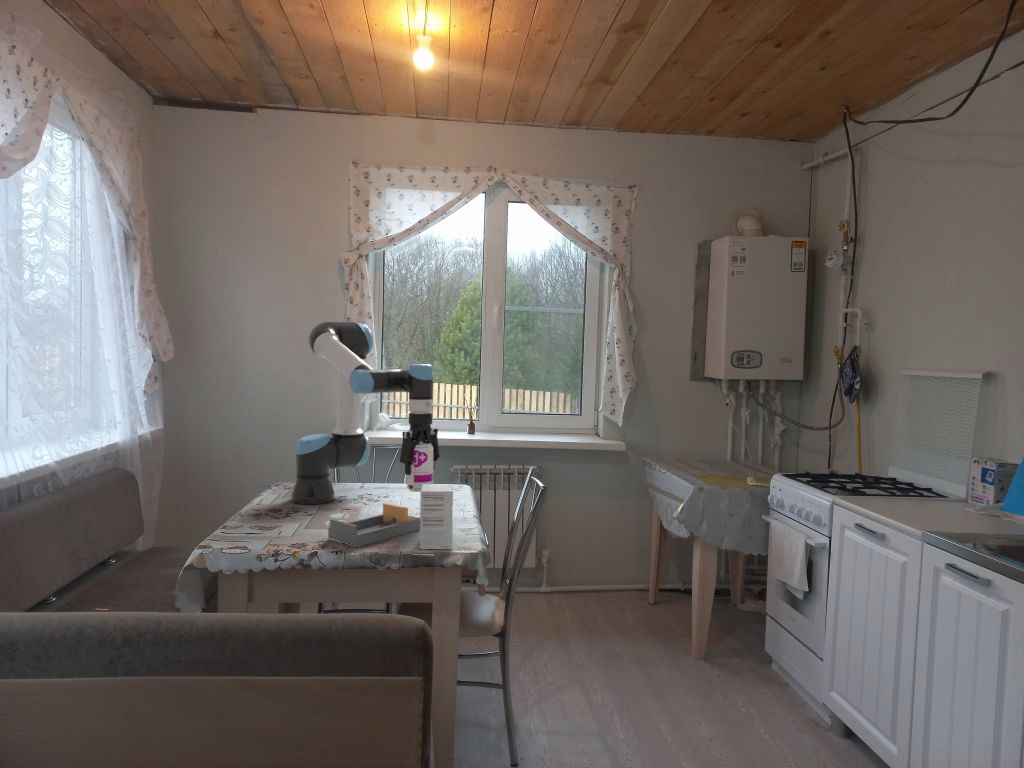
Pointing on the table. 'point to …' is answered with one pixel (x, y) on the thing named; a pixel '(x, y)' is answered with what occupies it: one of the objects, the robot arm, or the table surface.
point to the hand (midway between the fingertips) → (420, 482)
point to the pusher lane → (370, 530)
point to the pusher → (394, 514)
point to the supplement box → (436, 516)
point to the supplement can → (422, 466)
